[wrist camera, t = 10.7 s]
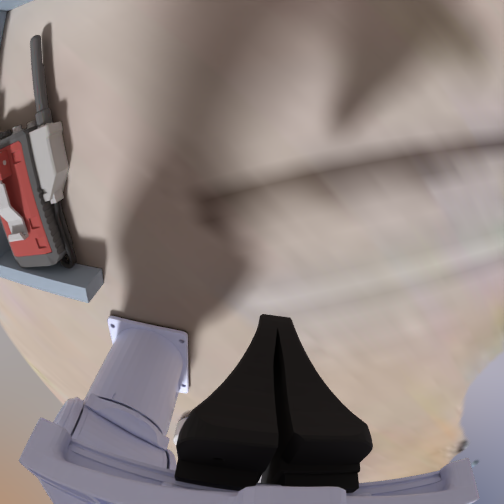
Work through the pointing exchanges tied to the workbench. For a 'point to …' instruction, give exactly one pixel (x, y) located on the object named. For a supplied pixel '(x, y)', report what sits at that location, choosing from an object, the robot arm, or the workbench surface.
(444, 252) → the workbench surface
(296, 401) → the robot arm
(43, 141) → the walkie-talkie
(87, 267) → the centring jig
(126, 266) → the workbench surface
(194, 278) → the workbench surface
